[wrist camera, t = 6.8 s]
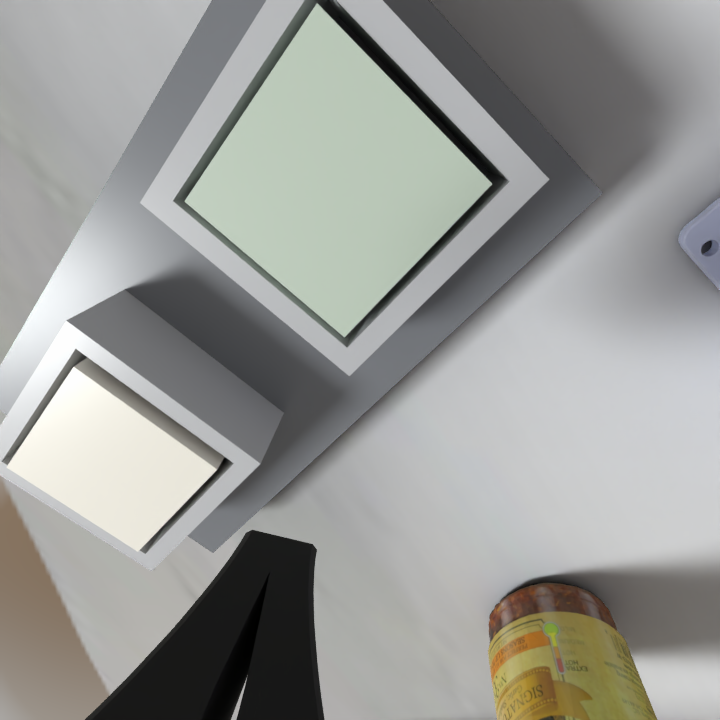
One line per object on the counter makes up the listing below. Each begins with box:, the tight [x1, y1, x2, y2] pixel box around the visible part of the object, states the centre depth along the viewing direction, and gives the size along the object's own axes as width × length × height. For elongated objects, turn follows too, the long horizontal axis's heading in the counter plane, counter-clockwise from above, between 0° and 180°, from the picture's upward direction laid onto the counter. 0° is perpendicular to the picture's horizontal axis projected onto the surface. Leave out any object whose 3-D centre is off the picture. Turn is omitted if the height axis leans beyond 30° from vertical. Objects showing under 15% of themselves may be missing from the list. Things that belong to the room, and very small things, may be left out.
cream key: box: [6, 357, 224, 552], centre depth 16 cm, size 5×5×2 cm
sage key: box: [184, 4, 492, 337], centre depth 12 cm, size 5×5×2 cm
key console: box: [0, 0, 603, 571], centre depth 16 cm, size 11×20×6 cm, turn 139°
